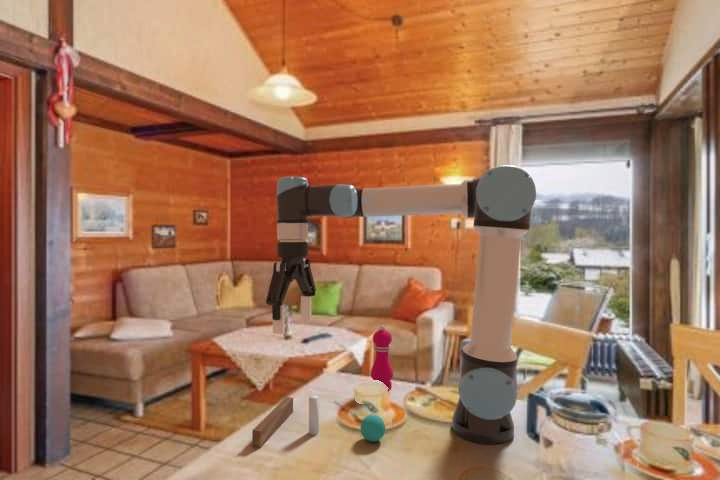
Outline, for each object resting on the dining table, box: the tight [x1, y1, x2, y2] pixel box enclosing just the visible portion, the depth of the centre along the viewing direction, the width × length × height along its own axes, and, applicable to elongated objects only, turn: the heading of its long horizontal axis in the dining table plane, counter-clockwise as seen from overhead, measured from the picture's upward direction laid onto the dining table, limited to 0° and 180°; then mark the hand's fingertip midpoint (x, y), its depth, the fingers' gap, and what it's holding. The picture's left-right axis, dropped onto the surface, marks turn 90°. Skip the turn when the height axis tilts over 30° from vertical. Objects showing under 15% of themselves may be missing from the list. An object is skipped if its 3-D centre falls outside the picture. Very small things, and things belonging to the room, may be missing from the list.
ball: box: [359, 414, 386, 443], centre depth 105 cm, size 6×6×6 cm
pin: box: [308, 394, 320, 436], centre depth 108 cm, size 2×2×9 cm
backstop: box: [251, 396, 294, 449], centre depth 111 cm, size 2×20×4 cm, turn 167°
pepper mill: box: [370, 324, 394, 391], centre depth 139 cm, size 7×7×20 cm
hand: (293, 327), depth 107 cm, fingers open, 13 cm apart
